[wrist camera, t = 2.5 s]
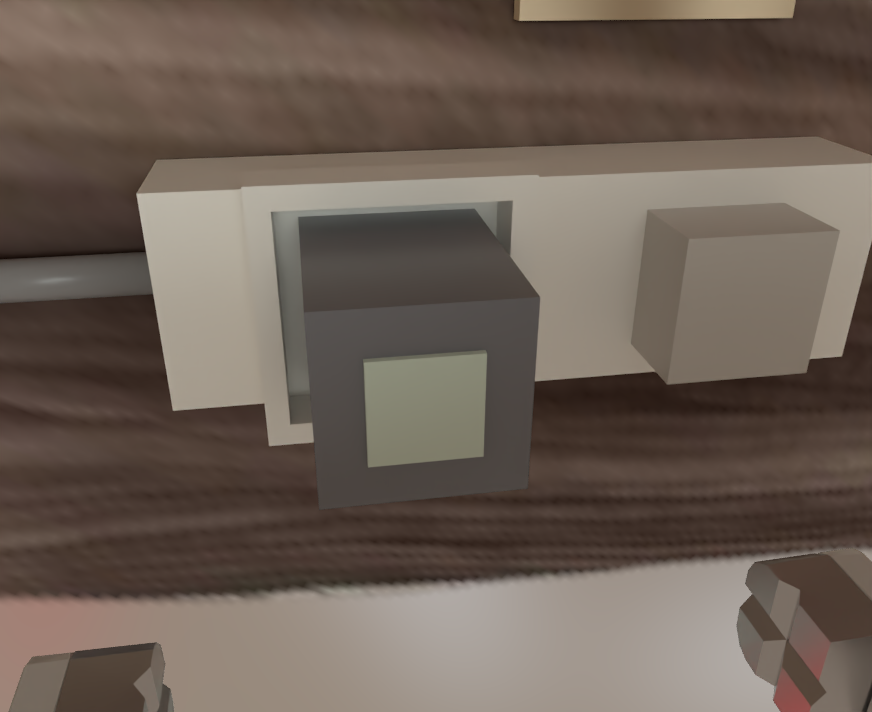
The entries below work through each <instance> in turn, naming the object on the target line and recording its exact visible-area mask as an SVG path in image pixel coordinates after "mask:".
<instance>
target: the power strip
mask: <svg viewBox="0 0 872 712" xmlns="http://www.w3.org/2000/svg"><path fill="white" fill-rule="evenodd" d="M136 195H137V200H138V206H139V212H140V218H141V224H142V230H143V236H144V242H145V248H146V252H134V253H115V254H96V255H77V256H57V257H38V258H19V259H0V303H14V302H30V301H47V300H64V299H81V298H97V297H114V296H131V295H148V294H153V295H154V301H155V307H156V313H157V319H158V325H159V331H160V337H161V343H162V349H163V355H164V361H165V367H166V372H167V378H168V384H169V390H170V396H171V402H172V408H173V411H176V410H189V409H201V408H213V407H226V406H238V405H250V404H263V403H264V404H265V413H266V422H267V432H268V441H269V446H277V445H288V444H300V443H311V442H314V437H313V425H312V412H311V399H310V386H309V373H308V361H307V348H306V335H305V322H304V309H303V292H302V275H301V258H300V241H299V224H298V217H304V216H326V215H347V214H368V213H390V212H411V211H432V210H454V209H475V210H476V211H477V212H478V214H479V215H480V216H481V218H482V219H483V221H484V222H485V223H486V225H487V226H488V227H489V229H490V230H491V231H492V233H493V234H494V235H495V237H496V238H497V239H498V241H499V242H500V243H501V245H502V246H503V247H504V249H505V250H506V252H507V253H508V254H509V256H510V257H511V258H512V260H513V261H514V262H515V264H516V265H517V266H518V268H519V269H520V270H521V272H522V273H523V274H524V276H525V277H526V278H527V280H528V281H529V282H530V284H531V285H532V287H533V288H534V289H535V291H536V292H537V293H538V295H539V296H540V310H539V325H538V340H537V356H536V371H535V381H546V380H558V379H570V378H583V377H595V376H607V375H620V374H632V373H644V372H656V373H657V374H658V375H659V376H660V377H661V378H662V379H663V380H664V382H665V383H666V384H667V385H668V384H679V383H691V382H703V381H715V380H727V379H739V378H751V377H763V376H775V375H787V374H798V373H806V372H807V367H808V363H809V359H817V358H829V357H841V356H842V354H843V350H844V346H845V342H846V338H847V334H848V330H849V327H850V323H851V319H852V315H853V311H854V307H855V303H856V300H857V296H858V292H859V288H860V284H861V280H862V276H863V273H864V269H865V265H866V261H867V257H868V253H869V249H870V245H871V242H872V155H869V154H866V153H864V152H861V151H858V150H855V149H852V148H849V147H846V146H844V145H841V144H838V143H835V142H832V141H829V140H826V139H823V138H821V137H818V136H816V137H788V138H759V139H731V140H703V141H674V142H646V143H618V144H590V145H561V146H533V147H505V148H477V149H448V150H420V151H392V152H364V153H335V154H307V155H279V156H250V157H222V158H194V159H166V160H156V162H155V163H154V165H153V167H152V168H151V170H150V172H149V173H148V175H147V177H146V178H145V180H144V182H143V183H142V185H141V187H140V188H139V190H138V192H137V193H136Z"/></svg>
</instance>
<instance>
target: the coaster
mask: <svg viewBox="0 0 872 712" xmlns="http://www.w3.org/2000/svg"><path fill="white" fill-rule="evenodd" d="M795 1H796V0H514V19H515V20H518V21H556V20H648V19H740V18H792V17H793V12H794V7H795Z"/></svg>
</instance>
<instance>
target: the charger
mask: <svg viewBox="0 0 872 712" xmlns="http://www.w3.org/2000/svg"><path fill="white" fill-rule="evenodd" d="M298 224H299V241H300V258H301V275H302V292H303V309H304V322H305V335H306V348H307V361H308V373H309V386H310V399H311V412H312V425H313V437H314V450H315V463H316V476H317V488H318V501H319V510H323V509H333V508H342V507H352V506H362V505H372V504H382V503H391V502H401V501H411V500H421V499H431V498H440V497H450V496H460V495H470V494H480V493H489V492H499V491H509V490H519V489H528V476H529V461H530V446H531V431H532V416H533V401H534V386H535V371H536V356H537V340H538V325H539V310H540V296H539V295H538V293H537V292H536V291H535V289H534V288H533V287H532V285H531V284H530V282H529V281H528V280H527V278H526V277H525V276H524V274H523V273H522V272H521V270H520V269H519V268H518V266H517V265H516V264H515V262H514V261H513V260H512V258H511V257H510V256H509V254H508V253H507V252H506V250H505V249H504V247H503V246H502V245H501V243H500V242H499V241H498V239H497V238H496V237H495V235H494V234H493V233H492V231H491V230H490V229H489V227H488V226H487V225H486V223H485V222H484V221H483V219H482V218H481V216H480V215H479V214H478V212H477V211H476V210H475V209H454V210H432V211H411V212H390V213H368V214H347V215H326V216H304V217H298Z"/></svg>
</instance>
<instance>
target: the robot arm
mask: <svg viewBox="0 0 872 712" xmlns="http://www.w3.org/2000/svg"><path fill="white" fill-rule="evenodd" d="M745 584H746V586H747V587H748V588H749V590H750V591H751V593H752V595H751V596H750V597H749V598H748V599H747V600H746V602H745V603H744V604H743V605H742V606H741V607H740V609H739V615H738V621H737V631H738V638H739V643H740V647H741V649H742V652H743V654H744V657H745V659H746V661H747V662H748V664H749V665H750V667H751V668H752V670H753V672H754V673H755V675H757V676H759V677H760V678H762V679H764V680H765V681H767V682H769V683H770V684H772V685H774V697H773V701H774V703H775V704H776V706H777V707H778V709H779V710H780V711H781V712H872V562H871V561H870V560H869V559H868V558H867V557H866V556H865V555H864V554H863V553H862V552H860V551H858V550H856V549H853V548H848V549H841V550H834V551H827V552H821V553H818V554H808V555H801V556H794V557H787V558H780V559H773V560H766V561H759V562H755V563H754V564H753V565H752V566H751V568H750V569H749V570H748V574H747V578H746V583H745ZM164 669H165V661H164V657H163V652H162V648H161V645H160V644H159V643H157V642H156V643H147V644H138V645H128V646H119V647H111V648H101V649H92V650H83V651H75V652H74V653H64V654H54V655H45V656H35V657H32V658H31V659H30V661H29V662H28V663H27V665H26V666H25V667H24V669H23V672H22V675H21V678H20V681H19V683H18V686H17V689H16V692H15V695H14V698H13V700H12V703H11V706H10V709H9V712H174V706H173V700H172V694H171V690H170V688H168V687H167V686H165V685H164V684H163V677H164Z"/></svg>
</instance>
